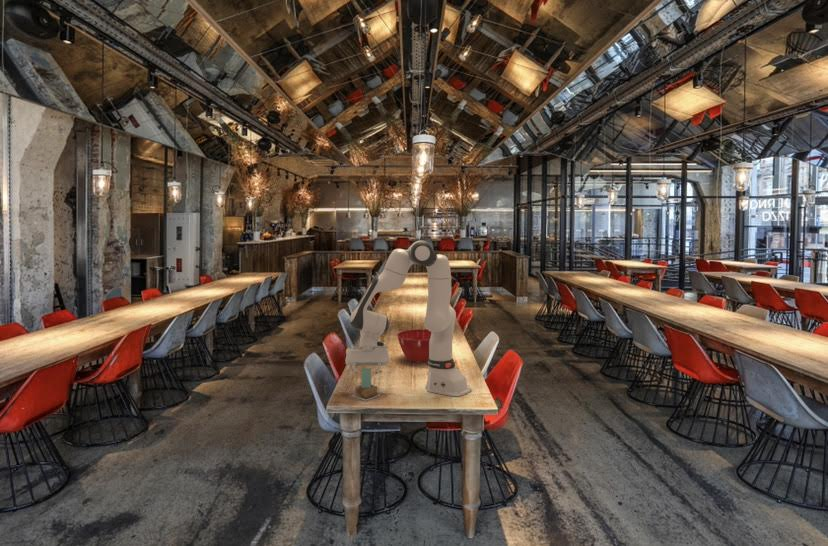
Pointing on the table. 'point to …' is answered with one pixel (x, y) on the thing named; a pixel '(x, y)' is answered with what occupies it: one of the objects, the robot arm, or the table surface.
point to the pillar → (366, 377)
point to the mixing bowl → (415, 344)
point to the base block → (366, 391)
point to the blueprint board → (366, 399)
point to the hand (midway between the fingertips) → (366, 373)
